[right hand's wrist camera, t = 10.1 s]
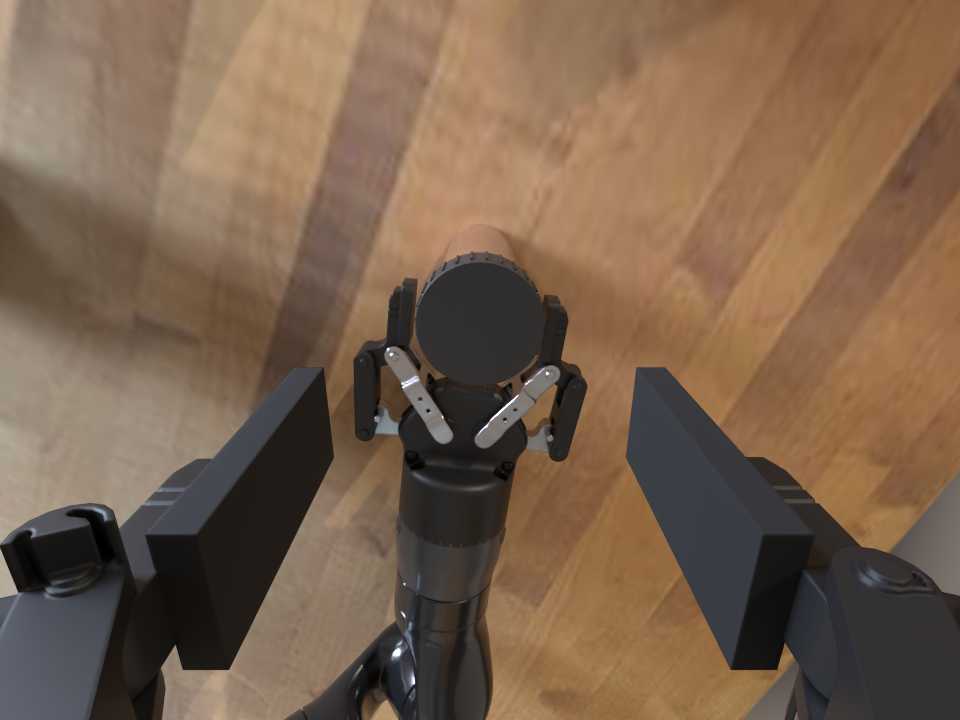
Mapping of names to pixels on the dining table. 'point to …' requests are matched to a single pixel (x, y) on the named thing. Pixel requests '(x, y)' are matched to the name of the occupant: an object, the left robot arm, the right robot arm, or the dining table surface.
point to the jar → (480, 242)
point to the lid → (479, 319)
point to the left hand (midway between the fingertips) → (482, 289)
